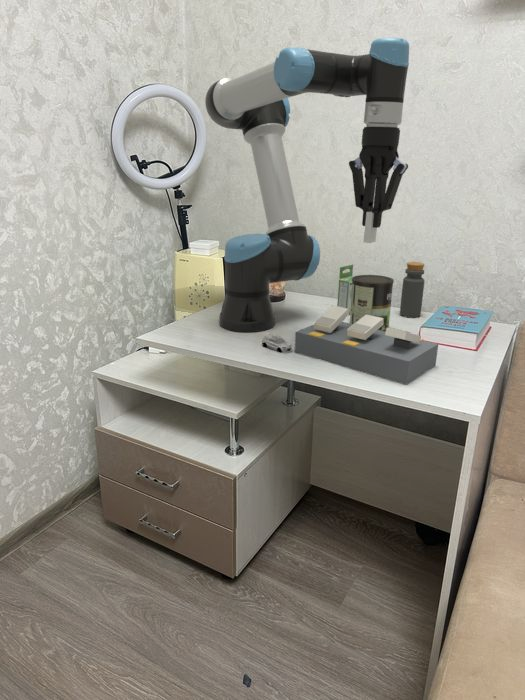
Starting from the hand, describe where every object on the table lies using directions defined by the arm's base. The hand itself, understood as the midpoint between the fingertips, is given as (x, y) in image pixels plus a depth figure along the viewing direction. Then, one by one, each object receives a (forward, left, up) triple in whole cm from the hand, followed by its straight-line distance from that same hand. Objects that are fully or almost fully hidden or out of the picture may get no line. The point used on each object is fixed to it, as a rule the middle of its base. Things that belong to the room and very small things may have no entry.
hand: (369, 241), depth 116 cm
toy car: (-15, -13, -26) cm, 32 cm away
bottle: (-4, +34, -25) cm, 43 cm away
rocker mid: (+4, -6, -18) cm, 19 cm away
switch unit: (+4, -6, -25) cm, 26 cm away
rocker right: (+13, -6, -18) cm, 22 cm away
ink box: (-19, +25, -25) cm, 41 cm away
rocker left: (-5, -6, -18) cm, 19 cm away
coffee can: (-5, +12, -25) cm, 29 cm away
